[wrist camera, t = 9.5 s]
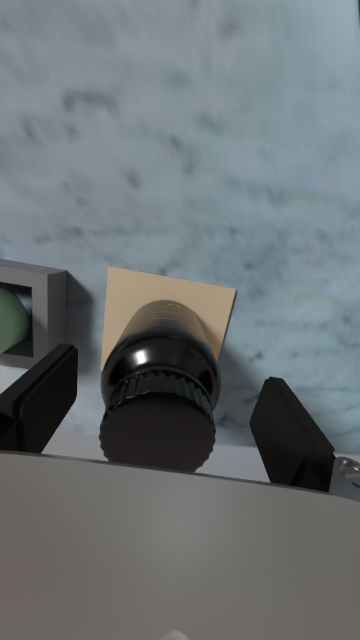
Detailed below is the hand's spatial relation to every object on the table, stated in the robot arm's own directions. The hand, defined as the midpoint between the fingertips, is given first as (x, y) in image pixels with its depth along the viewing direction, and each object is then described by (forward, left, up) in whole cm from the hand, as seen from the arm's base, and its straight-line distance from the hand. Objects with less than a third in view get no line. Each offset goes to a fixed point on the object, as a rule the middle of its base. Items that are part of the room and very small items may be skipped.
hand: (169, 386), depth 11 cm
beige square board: (+1, +1, -10) cm, 10 cm away
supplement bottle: (0, +1, -10) cm, 10 cm away
